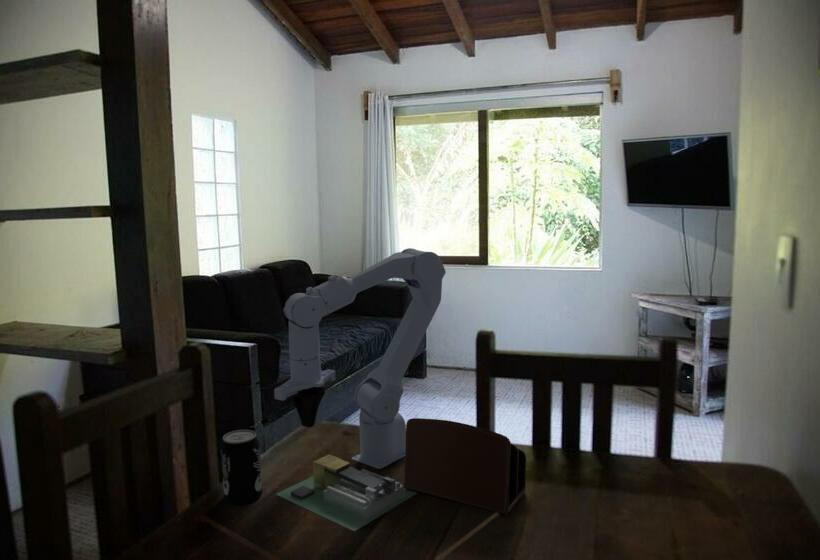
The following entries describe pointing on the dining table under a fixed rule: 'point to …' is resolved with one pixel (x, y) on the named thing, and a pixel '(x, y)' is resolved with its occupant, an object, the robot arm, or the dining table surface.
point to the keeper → (321, 471)
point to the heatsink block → (363, 497)
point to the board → (314, 502)
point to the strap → (360, 478)
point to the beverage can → (241, 467)
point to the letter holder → (463, 464)
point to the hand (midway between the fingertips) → (308, 425)
